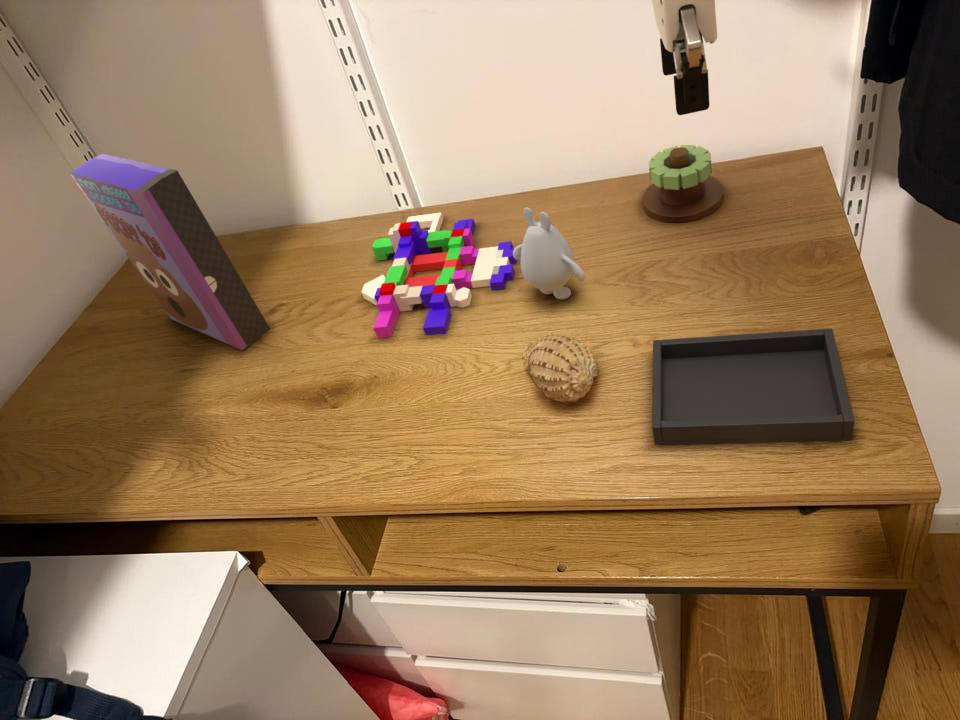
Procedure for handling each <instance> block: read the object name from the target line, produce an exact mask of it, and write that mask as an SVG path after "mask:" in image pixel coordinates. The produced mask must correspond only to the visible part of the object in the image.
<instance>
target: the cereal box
mask: <svg viewBox="0 0 960 720" xmlns="http://www.w3.org/2000/svg"><path fill="white" fill-rule="evenodd" d="M69 175H70V177H71V178H72V179H73V181H74V183H75V184H76V185H77V187H78V188H79V190H80V191H81V192H82V194H83V195H84V197H85V199H86V200H87V201H88V202H89V204H90V205H91V207H92V208H93V209H94V211H95V213H96V214H97V215H98V217H99V219H101V221H102V223H103V224H104V225H105V227H106V229H108V231H109V232H110V234H111V236H112V238H114V240H115V241H116V243H117V244H118V246H119V247H120V248H121V250H122V251H123V252H124V254H125V255H126V257H127V258H128V260H129V261H130V263H131V264H132V265H133V267H134V269H135V270H136V271H137V273H138V274H139V275H140V277H141V278H142V280H143V281H144V282H145V284H146V286H147V287H148V288H149V290H150V291H151V293H152V294H153V295H154V297H155V298H156V300H157V301H158V302H159V304H160V305H161V307H162V309H163V310H164V311H165V313H166V314H167V316H168V317H169V319H170V320H171V321H173V322H175V323H177V324H180V325H182V326H185V327H187V328H189V329H191V330H193V331H195V332H198V333H200V334H202V335H205V336H207V337H210V338H212V339H214V340H216V341H219V342H221V343H223V344H225V345H226V346H230V347H233V348H235V349H236V350H239V351H240V352H245V351H246V350H247V349H248V348H249V347H251V346H252V345H253V344H254V343H255V342H256V341H257V340H259V339H260V338H261V337H262V336H263V335H264V334H265V333H266V332H268V331H269V330H270V329H271V328H270V326H269V324H268V322H267V321H266V319H265V317H264V316H263V314H262V312H261V311H260V309H259V308H258V306H257V303H256V302H255V300H254V299H253V297H252V295H251V294H250V292H249V290H248V289H247V286H246V285H245V283H244V282H243V280H242V278H241V277H240V275H239V273H238V271H237V270H236V268H235V266H234V264H233V263H232V261H231V259H230V258H229V256H228V254H227V253H226V250H225V249H224V247H223V246H222V244H221V242H220V241H219V239H218V237H217V235H216V234H215V232H214V231H213V229H212V227H211V225H210V223H209V221H208V220H207V218H206V216H205V215H204V213H203V211H202V210H201V208H200V207H199V204H198V203H197V201H196V200H195V198H194V195H193V194H192V193H191V192H190V191H191V190H190V189H189V188H188V186H187V184H186V183H185V181H184V179H183V177H182V175H181V174H180V172H179V171H178V170H177V169H173V168H170V167H169V168H168V167H164V166H159V165H155V164H152V163H151V164H150V163H146V162H142V161H138V160H134V159H133V160H132V159H128V158H123V157H119V156H115V155H110V154H106V153H101V154H99V155H97V156H95V157H92V158H90V159H89V160H87V161H85V162H84V163H82V164H81V165H79V166H78V167H77V168H76V169H74V170H73V171H71V172H69Z"/></svg>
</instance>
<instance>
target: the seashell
mask: <svg viewBox="0 0 960 720" xmlns="http://www.w3.org/2000/svg"><path fill="white" fill-rule="evenodd" d="M521 356H522V357H521V359H522V360H523V365H524V366H525V369H526V370H527V371H528V372H529V374H530V376H531V377H533V378H532V379H533V380H534V385H535V386H536V387H537V388H539V389H540V390H541V391H542V392H543V393H544V395H545V396H546V398H548V399H550V400H553V401H557V402H560V403H564V402H570V403H576V402H577V401H578V400H580V399H582V398H585V396H586V394H587V393H588V392H590V390H591V387H592V385H593V383H594V378H595V377H597V376H598V365H597V363H598V362H597V358H596V357H595V355H594V353H593V352H592V350H591V348H589V347H588V346H586V345H585V344H584V343H583V342H582V341H580V340H579V339H577V338H575V337H572V336H567V335H561V334H548V335H545V336H543V337H540V338H539V339H537V340H536V341H535V342H528V343H526V344H525V345H524V348H523V351H522V353H521Z"/></svg>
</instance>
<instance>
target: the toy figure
mask: <svg viewBox="0 0 960 720" xmlns="http://www.w3.org/2000/svg"><path fill="white" fill-rule="evenodd" d="M522 213H523V214H522V215H523V218H524V220H525V221H526V223H527V224H528V228H527V229H526V231H525V234H524V237H523V240H522V243H519V244H518V245H516V246H515V247H514V248H515V249H514V250H513V256H514V258H515V259H516V260H517V261H520V269H521V274H522V276H523V277H524V279H525V281H527V283H528V284H529V285H530V286H532V287H533V288H535V289H537V290H540V292H541V293H542V294H544V295H552V294H553V296H554V298H556V299H558V300H566V299H568V298H570V297H571V296H572V295H571V294H572V291H571V288H569V287H567V286H565V285H566V284H568V282H569V280H570V279H571V277H573V278H576V279H577V280H578V281H579V282H584V281H585V280H586V274H585V272H584V270H583V268H581V266H580V265H578V263H576V261H575V255H574V252H573V249H572V246H571V245H570V243H569V242H568V241H567V240H566V238H565V236H564V235H563V234H562V233H561V232H560V231H559V230H558V228H557V227H556V226H555V225H554V223H552V220H551V218H550V216H549V214H548V213H547V212H545V211H541V212H540V213H539V221H536V219H535V216H534V212H533V211H532V209H531V208H530V207H527V206H525V207H524V208H523V210H522Z"/></svg>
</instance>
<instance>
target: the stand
mask: <svg viewBox="0 0 960 720" xmlns="http://www.w3.org/2000/svg"><path fill="white" fill-rule="evenodd" d="M670 162H671V168H669V169H682V168H685V167H689V166H691V165H689V155H688V149H686V148H683V147H681V146H680V147H679V146H678V148H675V149H673V150H671V152H670ZM723 201H724V187H723V184H722V183H721V181H719V180H718V179H717V178H715V177H714V176H711V175H710V176H709V177H708V178H707V179H706V180H705V181H703V182H702V183H700V182H698V185H696V186H693V187H689V188H686V189H683V188H682V186H680V188H679V190H674V189H664V186H663V187H661V188H660V187H658V186H656V185H655V184H653V183H652V184H650V185H649V186H648V187H647V188H646V190H645V191H644V192H643V195H642V207H643V210H644V212H645V213H646V215H647V216H649V217H650V218H652V219H653V220H656V221H658V222H662V223H669V224H681V223H689V222H694V221H697V220H700V219H703V218H706V217H708V216H709V215H711V214H713V213H714V212H715V211H717V210H718V209H719V208H720V206H721V205H722V203H723Z"/></svg>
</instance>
